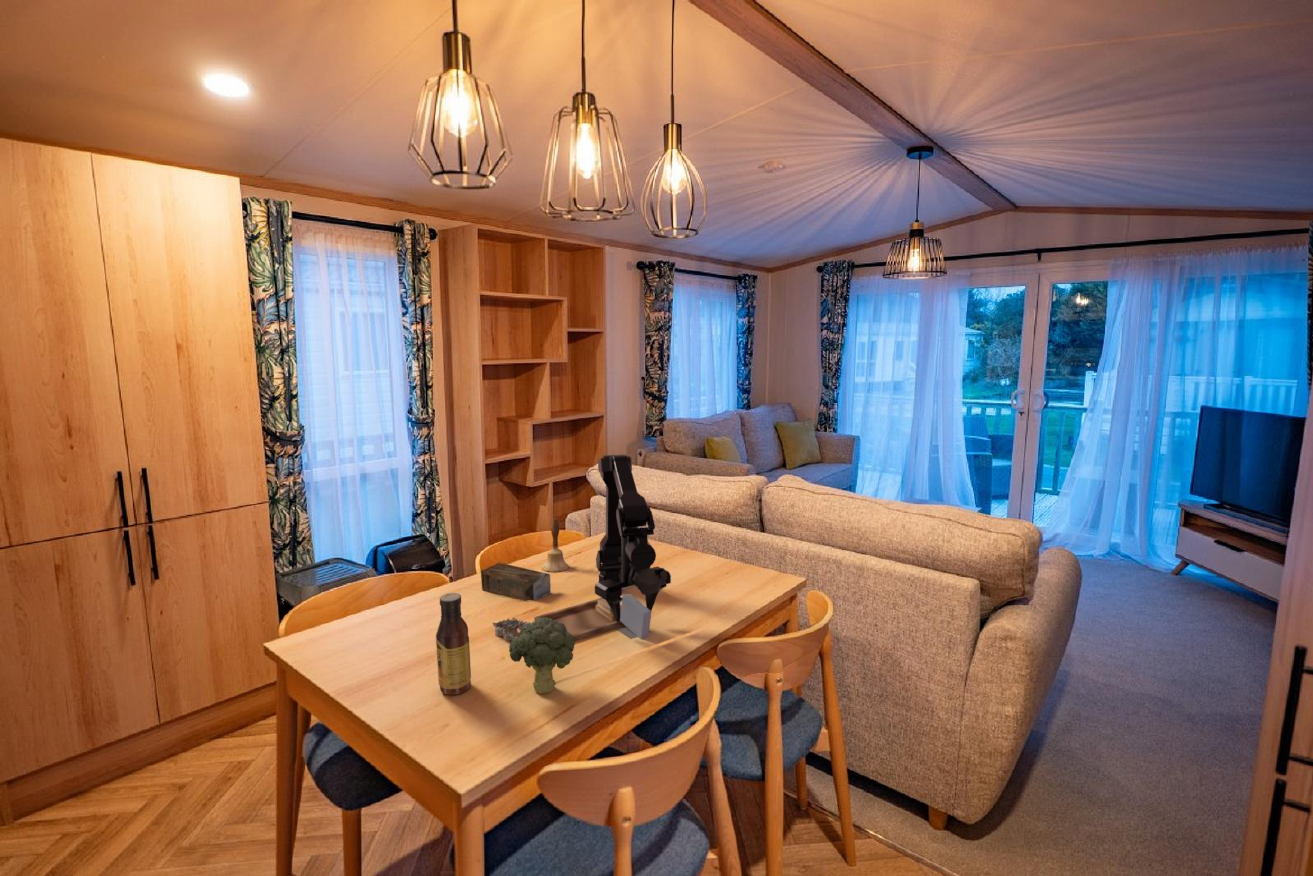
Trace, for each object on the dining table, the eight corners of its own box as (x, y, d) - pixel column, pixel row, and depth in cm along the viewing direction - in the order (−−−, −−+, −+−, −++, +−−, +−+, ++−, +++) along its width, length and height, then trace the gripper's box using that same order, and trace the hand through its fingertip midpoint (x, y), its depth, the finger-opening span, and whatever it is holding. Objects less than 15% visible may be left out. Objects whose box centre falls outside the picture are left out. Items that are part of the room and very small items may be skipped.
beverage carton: (533, 604, 166) (533, 580, 165) (480, 591, 174) (479, 569, 173) (551, 593, 173) (551, 571, 172) (499, 582, 181) (498, 560, 180)
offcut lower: (607, 607, 162) (607, 601, 162) (624, 617, 156) (624, 611, 155) (595, 610, 160) (595, 604, 160) (612, 621, 153) (612, 615, 153)
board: (627, 618, 152) (629, 593, 150) (648, 637, 145) (651, 611, 144) (619, 620, 151) (622, 595, 149) (640, 640, 144) (643, 613, 142)
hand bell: (568, 562, 197) (567, 514, 195) (569, 571, 189) (568, 521, 187) (542, 564, 196) (540, 515, 194) (541, 573, 188) (540, 522, 186)
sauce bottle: (443, 680, 127) (438, 589, 124) (474, 679, 127) (470, 588, 124) (434, 698, 120) (429, 602, 117) (467, 697, 121) (462, 601, 118)
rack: (602, 604, 165) (602, 597, 165) (634, 623, 153) (634, 617, 153) (534, 623, 153) (534, 617, 153) (563, 647, 141) (563, 639, 141)
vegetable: (579, 701, 120) (578, 629, 117) (512, 712, 116) (509, 637, 114) (570, 670, 131) (568, 603, 129) (508, 679, 127) (506, 611, 125)
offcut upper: (609, 602, 161) (609, 597, 161) (621, 610, 156) (621, 605, 156) (597, 606, 159) (597, 600, 159) (610, 614, 154) (610, 608, 154)
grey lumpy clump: (542, 641, 145) (542, 625, 144) (515, 652, 139) (515, 635, 139) (517, 626, 152) (517, 611, 152) (490, 636, 147) (490, 620, 146)
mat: (636, 625, 153) (636, 623, 152) (651, 634, 148) (651, 631, 148) (616, 631, 149) (616, 629, 149) (630, 641, 144) (630, 638, 144)
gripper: (619, 572, 133) (620, 640, 136) (685, 555, 145) (685, 618, 147) (593, 558, 142) (593, 622, 145) (657, 543, 153) (656, 602, 156)
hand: (633, 616), depth 148 cm, fingers open, 9 cm apart
